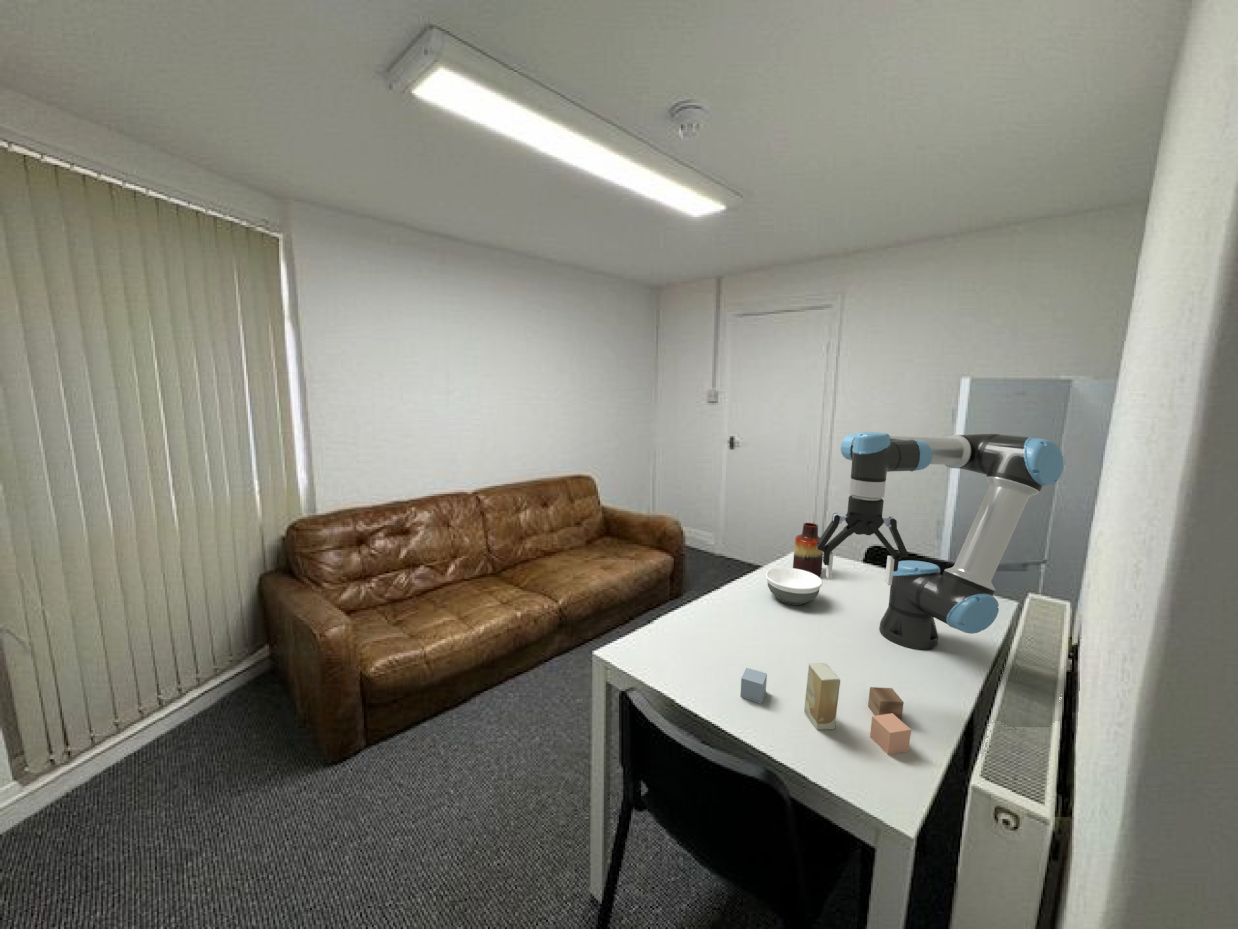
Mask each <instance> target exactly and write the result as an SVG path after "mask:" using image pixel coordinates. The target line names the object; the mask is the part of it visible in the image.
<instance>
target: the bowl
mask: <svg viewBox="0 0 1238 929" xmlns="http://www.w3.org/2000/svg"><path fill="white" fill-rule="evenodd" d="M765 577H766V581H767V587H768V589H769V591H770V593H771V594H773V595H774V596H775V597H776V598H778V599H779V600H780V601H781V602H783V603H785V604H787V605H793V606H799V605H803V604H805V603H808V602H810V601H813V600H814V599H815V598H817V596H818V595H819V593H820V589H821V587H822V585H823V580H822V579H821V577H818V576H817V575H815V574H813V573H810V572H808V571H804V570H800V569H795V568H793V567H775V568H770V569H769V570H768V571H766V573H765Z"/></svg>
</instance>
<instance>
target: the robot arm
mask: <svg viewBox="0 0 1238 929" xmlns="http://www.w3.org/2000/svg"><path fill="white" fill-rule="evenodd" d="M840 453H841V455H842V457H843V458H845V459H846V460H848V461H851V468H850V469H851V470H850V471H851V472H850V482H849V489H848V491H849V492H848V493H849V494H850V495H849V496H848V499H847V500H848V501H847V511H846V514H845V515H841V514H838V513H837V512H834V513H833V514H832V518H831V522H830V523H829V525H828V526H827V527H826V529H825V530H824V532H823V533H822V535H821V536H820V537H821V538H820V539H819V541H818V542H817V544H816V546H817V548H818V550H821V551H823V561H822V564H823V565H824V566H826V571H825V577H826V579H827V580H832V575H833V564H834V563H833V562H834V553H833V551H834V550H835V549H836V548H837V547H838V546H839V545H841V544H842V543H843V542H844V541H846V539H847V538H849V537H850V536H852V535H853V534H856V535H860V536H861V535H865V536H871V535H875V536H876V537H877V539H878V540H879V541H880V543H882V546H884V548H885V549H886V550H887V551H888V553H889V554H890V555H887V557H886V558H887V559H886V568H885V575H884V576H885V577H884V582H885V583H886V584H887V585H888V586H889V587H890V588H889V589H890V590H889V597H888V598H889V599H888V605H887V606H888V607H887V608H886V610H885V612H884V614H883V616H882V618H881V620H880V621H879V627H878V628H879V632H880V634H881V635H882V636H883V637H884V638H886V639H887V640H888V641H890V642H893V643H895V644H897V645H900V646H903V647H905V648H911V649H916V650H917V649H918V650H931V649H935V648H936V647H937V646H938V642H939V633H938V630H937V625H936V621H935V619H936V620H938V621H940V622H942V623H944V624H947V626H949V627H950V628H954V629H955V630H958V631H961V632H963V633H965V634H970V635H971V634H977V633H980V632H982V631H985V630H986V629H988V628H989V627H990V626H992V624H994V622H995V620H996V618H997V617H998V614H999V611H1000V608H999V601H998V600H997V599H996V598H995V596H994V593H995V592H996V588H995V587H994V585H993V583H992V580H993V579H994V576H995V574H996V572H997V570H998V567H999V565H1000V562H1001V561H1002V558H1003V556H1004V554H1005V551H1006V550H1007V547H1008V545H1009V543H1010V541H1011V538H1012V535H1013V534H1014V531H1015V529H1016V527H1017V524H1018V522H1019V520H1020V519H1021V516H1022V514H1023V512H1024V510H1025V507H1026V505H1027V503H1028V500H1029V499H1030V498H1031V497H1033V496H1036V495H1037V496H1038V495H1039V494H1040V492H1041V491H1042V488H1043V487H1048V486H1052V485H1054V484H1055V483H1056V482H1058V481H1059V480H1060V478H1061V476H1062V474H1063V470H1064V463H1065V462H1064V456H1063V453H1062V451H1061V448H1060V447H1059V446H1058V444H1057V443H1055V442H1054V441H1052V440H1050V439H1044V438H1039V437H1036V436H1029V437H1028V436H1021V435H1019V436H1018V435H1008V434H999V433H978V434H977V433H976V434H951V435H949V436H947V437H926V436H905V435H904V436H903V435H902V436H900V435H899V436H898V435H890V434H889V433H887V432H878V431H877V432H875V431H861V432H858V433H850V434H847V435H846V436H845V437H844V438H843V439H842V441H841V444H840ZM930 465H941V466H942V465H944V466H946V467H947V468H950V469H961V470H966V471H970V472H972V473H973V472H974V473H978V474H982V475H986V477H985V480H986V481H987V483H988V489H987V491H986V493H985V495H984V497H983V500H982V501H981V504H980V506H979V509H978V511H977V513H976V515H975V517H974V520H973V522H972V524H971V526H970V529H969V531H968V533H967V536H966V538H965V540H964V543H963V544H962V546H961V549H960V552H959V553H958V556H957V558H956V560H955V562H954V565H953V566H952V567H949V568H945V569H944V570H943V573H942V575H941V574H940V573H941V567H940V566H939V565H937V564H934V563H931V562H928V561H927V562H926V561H920V560H901V559H903V558H904V559H905V558H908V557H909V552H908V550H907V549H906V546H905V543H904V542H903V539H902V537H901V534H900V533H899V530H898V522H897V519H895V518H894V517H893V516H889V517H885V518H884V517H883V513H884V512H883V510H884V501H885V500H884V499H883V498H884V497H885V492H886V481H887V474H888V473H889V472H890V473H891V472H915V471H920V470H924V469H927V468H928V467H929V466H930ZM843 521H845V523H846V525H845V527H843V529H842V530H841V531H840V532H839V533H838V534H836V535H835V536H834V537H833V538H832V536H833V534H834V533H835V532H836V530H837V529H838V527H839V525H840V524H842V523H843ZM884 524H885V526H886V528H888V529H889V531H890V534H891V537H892V538H893V541H894V543H895V545H896V548H897V550H898V551H897V550H895V548H894V547H893V546H892V545H891V543H890V542H889V540H888V539H887V538H886V537H885V536H884V534H883V533H882V532H881V531H880V528H881V527H882V526H883V525H884ZM831 538H832V539H831ZM830 539H831V540H830Z"/></svg>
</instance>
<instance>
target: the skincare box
mask: <svg viewBox="0 0 1238 929" xmlns="http://www.w3.org/2000/svg"><path fill="white" fill-rule="evenodd" d="M807 671H808V672H807V681H806V689H805V698H804V699H805V700H804V708H803V709H804V710H803V711H804V714H805V715H806V717H807V718H808V719H809V722H811V724H812V726H813V727H814V728H815V730H818V731H819V730H835V729H836V719H837V711H838V705H839V704H838V702H839V695H840V688H841V687H840V686H841V679H840V677H839V676H838V675H837V674H836V672H835V671H834V670H833V669H832V668H831V667H830V666H829V665H828V663H826V662H825V663H822V662H821V663H819V662H818V663H808V670H807Z"/></svg>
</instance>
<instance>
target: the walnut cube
mask: <svg viewBox="0 0 1238 929" xmlns="http://www.w3.org/2000/svg"><path fill="white" fill-rule="evenodd" d="M867 707H868V708H869V710H870V711H871V713H872V714H873V716H877V715H884V714H891V713H893V714H894V715H895V716H896V717H897V718H898V719H900V720H901V721H902V718H903V710H904V701H903V700H902V698H901V697H900V695H899V694H897V692H896V691H895V690H894V688H892V687H879V686H878V687H877V686H876V687H875V686H874V687H873V686H869V692H868V703H867Z"/></svg>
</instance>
